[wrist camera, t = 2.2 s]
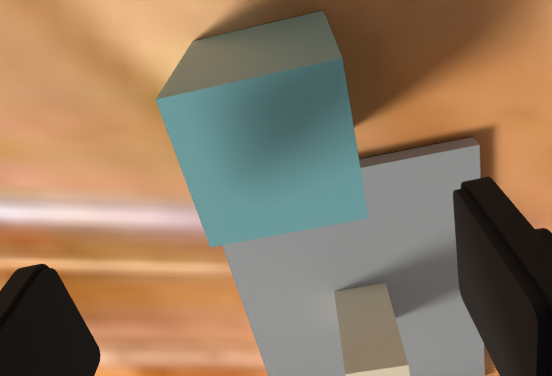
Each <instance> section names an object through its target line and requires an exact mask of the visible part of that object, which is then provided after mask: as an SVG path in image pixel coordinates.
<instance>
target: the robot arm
mask: <svg viewBox="0 0 552 376" xmlns="http://www.w3.org/2000/svg"><path fill="white" fill-rule="evenodd" d="M453 206H454V221H455V236H456V252H457V267H458V282H459V290H460V294H461V297H462V300H463V302H464V304H465V306H466V308H467V310H468V312H469V314H470V316H471V318H472V320H473V322H474V324H475V326H476V328H477V330H478V332H479V334H480V336H481V338H482V340H483V342H484V344H485V346H486V348H487V350H488V353H489V355H490V357H491V359H492V361H493V363H494V365H495V367H496V369H497V371H498V373H499V375H500V376H552V233H551V232H550V231H549V230H548V229H545V228H541V229H534V228H533V227H532V226H531V224H530V223H529V222H528V221H527V220H526V218H525V217H524V216H523V215H522V214H521V213H520V211H519V210H518V209H517V208H516V207H515V205H514V204H513V203H512V202H511V201H510V200H509V198H508V197H507V196H506V195H505V194H504V192H503V191H502V190H501V189H500V188H499V187H498V185H497V184H496V183H495V182H494V181H493V179H492V178H490V177H484V178H479V179H474V180H469V181H464V182H462V183H461V189H457V190H454V191H453ZM99 362H100V350H99V347H98V345H97V343H96V342H95V340H94V338H93V336H92V334H91V333H90V331H89V329H88V327H87V325H86V324H85V322H84V320H83V318H82V316H81V315H80V313H79V311H78V309H77V307H76V306H75V304H74V302H73V300H72V298H71V297H70V295H69V293H68V291H67V289H66V288H65V286H64V284H63V282H62V280H61V279H60V277H59V275H58V273H57V272H56V270H54V269H52V268H49V267H48V266H47V265H45V264H38V265H33V266H28V267H23V268H19V269H17V270H16V271H15V272H14V273H13V275H12V276H11V277H10V279H9V280H8V281H7V283H6V284H5V285H4V287H3V288H2V289H1V291H0V376H94V375H95V372H96V370H97V367H98V365H99Z"/></svg>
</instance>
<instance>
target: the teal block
mask: <svg viewBox="0 0 552 376" xmlns="http://www.w3.org/2000/svg"><path fill="white" fill-rule="evenodd" d="M156 102H157V105H158V107H159V110H160V113H161V115H162V118H163V121H164V123H165V126H166V129H167V131H168V134H169V137H170V140H171V142H172V145H173V148H174V150H175V153H176V156H177V158H178V161H179V164H180V167H181V169H182V172H183V175H184V177H185V180H186V183H187V185H188V188H189V191H190V194H191V196H192V199H193V202H194V204H195V207H196V210H197V212H198V215H199V218H200V221H201V223H202V226H203V229H204V231H205V234H206V237H207V239H208V242H209V245H210V247H215V246H220V245H225V244H231V243H236V242H242V241H247V240H253V239H258V238H264V237H269V236H275V235H280V234H286V233H291V232H296V231H302V230H307V229H313V228H318V227H324V226H329V225H335V224H340V223H346V222H351V221H356V220H362V219H367V218H368V212H367V206H366V200H365V194H364V188H363V181H362V175H361V169H360V163H359V157H358V150H357V144H356V138H355V132H354V126H353V119H352V113H351V107H350V101H349V95H348V88H347V82H346V76H345V70H344V64H343V58H342V55H341V53H340V50H339V48H338V45H337V43H336V40H335V38H334V35H333V33H332V30H331V28H330V26H329V23H328V21H327V18H326V16H325V13H324V11H323V10H322V11H318V12H314V13H310V14H305V15H301V16H297V17H293V18H288V19H284V20H280V21H276V22H272V23H267V24H263V25H259V26H255V27H250V28H246V29H242V30H238V31H234V32H229V33H225V34H221V35H217V36H212V37H208V38H204V39H200V40H195V41H192V43H191V45H190V46H189V48H188V49H187V51H186V53H185V54H184V56H183V57H182V59H181V60H180V62H179V64H178V65H177V67H176V68H175V70H174V72H173V73H172V75H171V76H170V78H169V79H168V81H167V83H166V84H165V86H164V87H163V89H162V90H161V92H160V94H159V95H158V97H157V98H156Z"/></svg>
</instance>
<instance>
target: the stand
mask: <svg viewBox="0 0 552 376" xmlns="http://www.w3.org/2000/svg"><path fill="white" fill-rule="evenodd" d="M359 163H360V169H361V175H362V181H363V188H364V194H365V200H366V206H367V212H368V218H367V219H362V220H356V221H351V222H346V223H340V224H335V225H329V226H324V227H318V228H313V229H307V230H302V231H296V232H291V233H286V234H280V235H275V236H269V237H264V238H258V239H253V240H247V241H242V242H236V243H231V244H225V245H222V246H223V249H224V252H225V255H226V258H227V261H228V263H229V266H230V269H231V272H232V275H233V277H234V280H235V283H236V286H237V289H238V292H239V294H240V297H241V300H242V303H243V306H244V308H245V311H246V314H247V317H248V320H249V323H250V325H251V328H252V331H253V334H254V337H255V339H256V342H257V345H258V348H259V351H260V354H261V356H262V359H263V362H264V365H265V368H266V370H267V373H268V376H485V363H484V342H483V340H482V338H481V336H480V334H479V332H478V330H477V328H476V326H475V324H474V322H473V320H472V318H471V316H470V314H469V312H468V310H467V308H466V306H465V304H464V302H463V300H462V297H461V294H460V290H459V282H458V267H457V252H456V236H455V221H454V206H453V191H454V190H457V189H461V183H462V182H464V181H469V180H474V179H479V178H480V144H479V143H478V142H477V141H476V140H475V138H474V137H470V138H465V139H460V140H454V141H449V142H444V143H439V144H434V145H429V146H424V147H419V148H414V149H409V150H404V151H399V152H394V153H389V154H384V155H379V156H374V157H369V158H364V159H359Z"/></svg>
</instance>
